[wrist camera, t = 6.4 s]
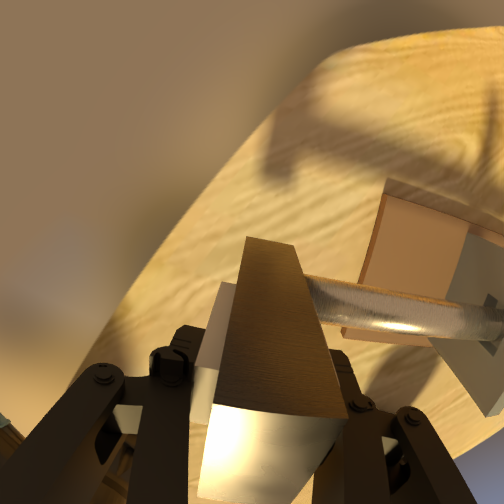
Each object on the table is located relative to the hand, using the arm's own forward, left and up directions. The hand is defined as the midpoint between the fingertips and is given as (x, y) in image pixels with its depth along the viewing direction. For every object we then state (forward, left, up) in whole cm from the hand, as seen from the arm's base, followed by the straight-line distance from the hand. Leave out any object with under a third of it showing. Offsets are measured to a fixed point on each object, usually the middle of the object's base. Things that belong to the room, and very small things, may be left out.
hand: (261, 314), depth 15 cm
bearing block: (+22, 0, -12) cm, 26 cm away
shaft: (+12, 0, -5) cm, 13 cm away
